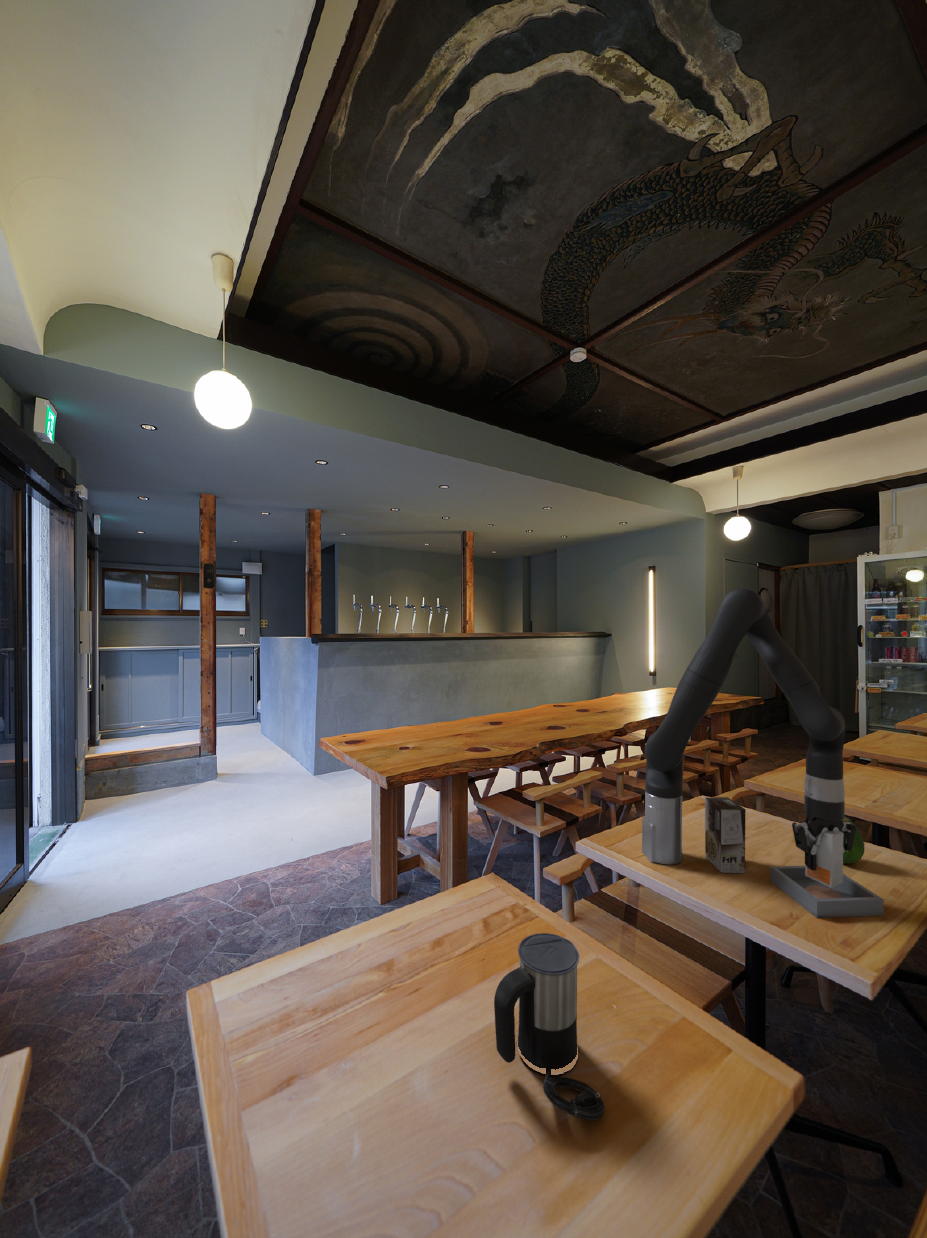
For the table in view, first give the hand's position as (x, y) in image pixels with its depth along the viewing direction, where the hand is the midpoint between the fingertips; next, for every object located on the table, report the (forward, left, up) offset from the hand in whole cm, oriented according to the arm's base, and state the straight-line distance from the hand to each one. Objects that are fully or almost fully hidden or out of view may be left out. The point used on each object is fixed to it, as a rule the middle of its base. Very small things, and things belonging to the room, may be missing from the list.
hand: (823, 868), depth 117 cm
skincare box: (0, 0, -3) cm, 3 cm away
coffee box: (-14, +16, -7) cm, 22 cm away
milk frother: (-72, -40, -7) cm, 83 cm away
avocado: (+18, +15, -7) cm, 24 cm away
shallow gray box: (0, 0, -7) cm, 7 cm away
